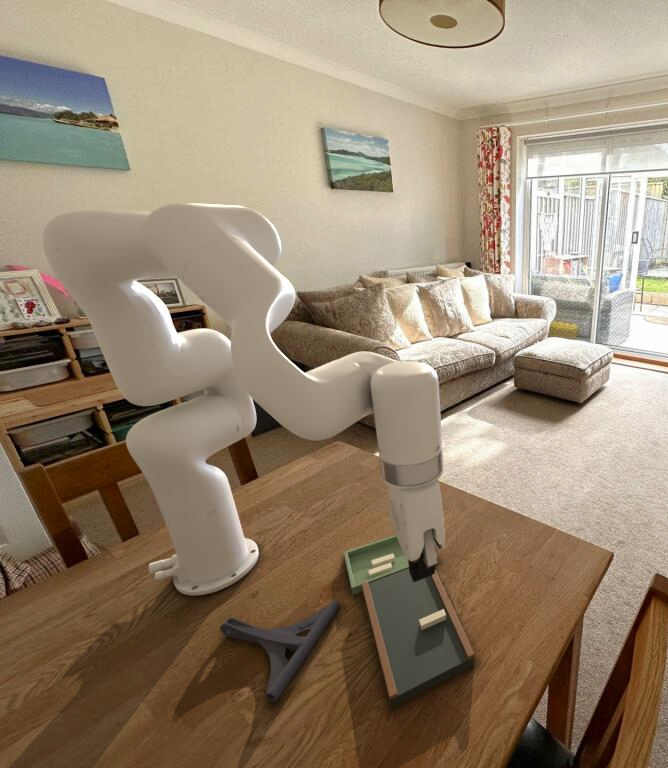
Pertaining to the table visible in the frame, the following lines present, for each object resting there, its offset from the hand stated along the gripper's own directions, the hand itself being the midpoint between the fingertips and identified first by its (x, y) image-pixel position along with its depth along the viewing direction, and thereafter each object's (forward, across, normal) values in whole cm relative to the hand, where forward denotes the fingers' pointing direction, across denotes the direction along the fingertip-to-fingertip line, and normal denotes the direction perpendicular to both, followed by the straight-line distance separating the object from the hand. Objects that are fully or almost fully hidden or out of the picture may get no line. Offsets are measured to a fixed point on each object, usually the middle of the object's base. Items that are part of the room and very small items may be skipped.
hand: (422, 573), depth 56 cm
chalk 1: (+12, -18, -2) cm, 22 cm away
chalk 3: (+12, -2, +1) cm, 12 cm away
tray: (+14, -19, -1) cm, 23 cm away
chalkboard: (+14, -4, -1) cm, 14 cm away
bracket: (+14, -12, -21) cm, 28 cm away
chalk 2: (+12, -16, -3) cm, 21 cm away
